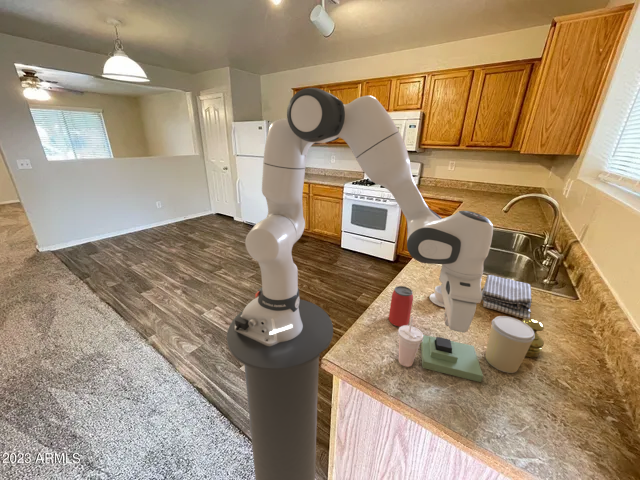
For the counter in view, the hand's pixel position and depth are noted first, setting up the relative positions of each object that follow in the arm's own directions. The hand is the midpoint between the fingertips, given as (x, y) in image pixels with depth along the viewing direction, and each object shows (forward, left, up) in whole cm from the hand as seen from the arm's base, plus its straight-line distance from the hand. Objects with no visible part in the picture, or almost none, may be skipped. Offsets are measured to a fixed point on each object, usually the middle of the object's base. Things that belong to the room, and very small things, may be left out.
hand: (447, 323), depth 70 cm
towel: (+26, +38, -12) cm, 48 cm away
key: (0, 0, -8) cm, 8 cm away
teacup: (+4, +31, -12) cm, 33 cm away
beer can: (-12, +12, -12) cm, 21 cm away
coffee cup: (+16, +4, -12) cm, 20 cm away
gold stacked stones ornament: (+24, +12, -12) cm, 29 cm away
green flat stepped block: (+2, 0, -12) cm, 12 cm away
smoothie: (-9, -5, -12) cm, 16 cm away
